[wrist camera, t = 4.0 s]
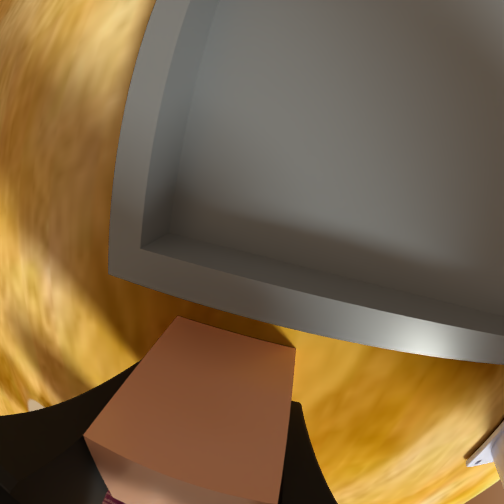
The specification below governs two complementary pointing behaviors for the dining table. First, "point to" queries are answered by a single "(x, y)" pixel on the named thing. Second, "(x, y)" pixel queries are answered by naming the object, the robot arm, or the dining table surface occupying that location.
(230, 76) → the grey bin
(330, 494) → the robot arm
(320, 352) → the dining table surface
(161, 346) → the terracotta block
